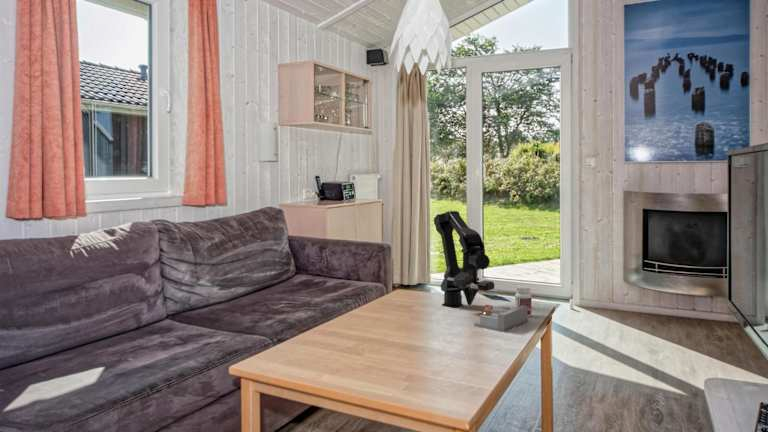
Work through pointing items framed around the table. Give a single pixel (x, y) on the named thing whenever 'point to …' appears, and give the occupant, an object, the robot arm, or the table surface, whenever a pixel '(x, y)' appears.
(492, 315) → the knob near
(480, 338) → the table surface
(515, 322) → the mount
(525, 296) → the pill bottle
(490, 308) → the knob far
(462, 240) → the robot arm
